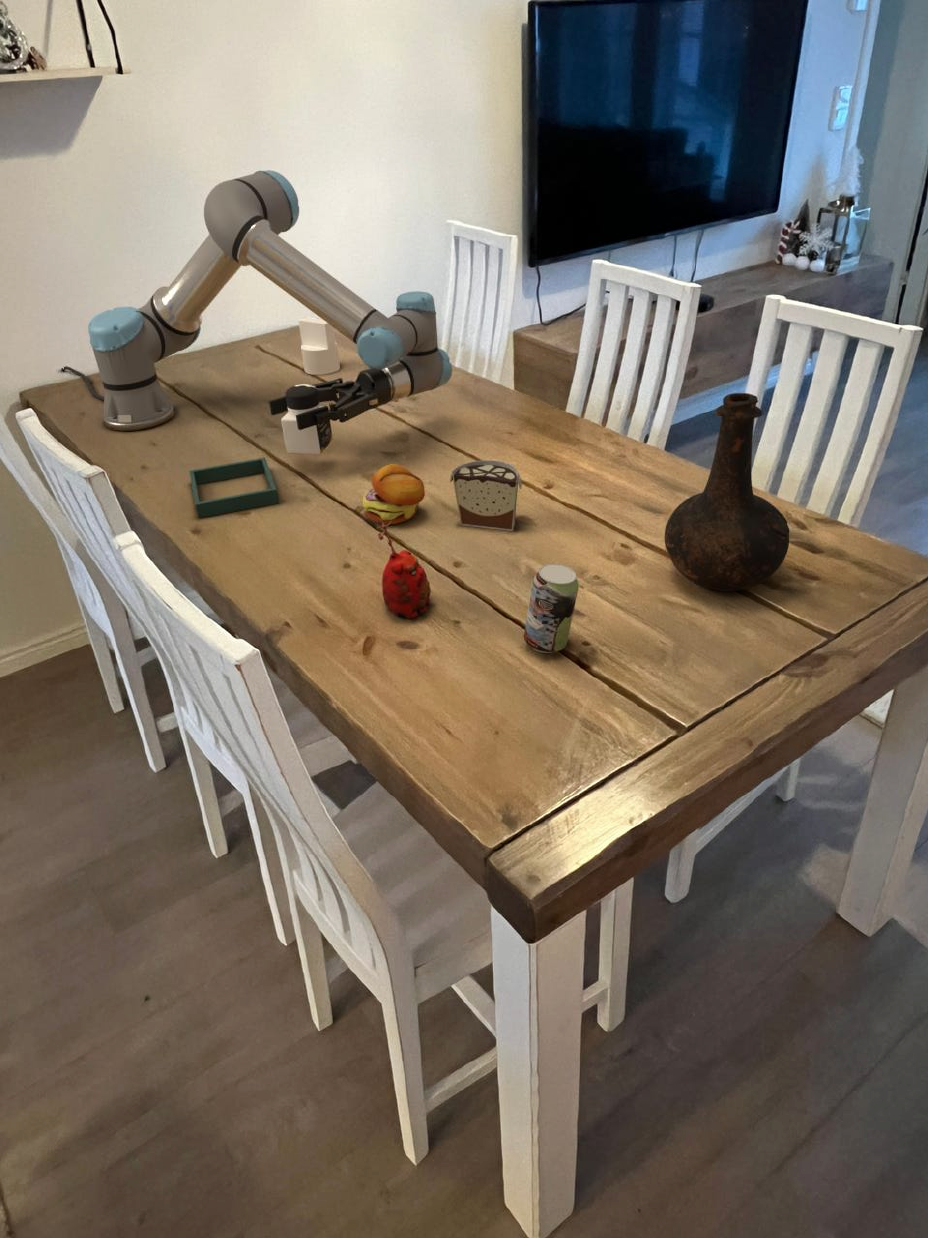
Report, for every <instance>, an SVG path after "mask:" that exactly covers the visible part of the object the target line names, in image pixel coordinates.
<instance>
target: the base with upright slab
mask: <svg viewBox="0 0 928 1238" xmlns="http://www.w3.org/2000/svg"><path fill="white" fill-rule="evenodd" d="M298 327H299V333H300V340H301V346H300V351H301V357H302V358H301V359H302V363H303V370H304V372H305V373H306V374H308V375H313V376H314V375H315V376H320V375H321V376H322V375H329V374H333V373H336V372H338V371H339V370H340V369H341V363H340V357H339V356H340V355H339V348H338V343H337V341H336V337H335V328H334V327H332V326H331V325H330V324H328V323H327V322H326V321H324V320H323V319H322V318H314V317H307V316H306V317H302V318H300V319H298Z"/></svg>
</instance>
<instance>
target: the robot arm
mask: <svg viewBox="0 0 928 1238" xmlns="http://www.w3.org/2000/svg"><path fill="white" fill-rule="evenodd" d="M299 216H300V206H299V198H298V194H297V192H296V190H295V188H294V186H293V185H292V184H291V182H290V181H289V180H288V179H287V177H285V176H284V175H283V174H282V173H280V172H278V171H275V170H268V169H267V170H257V171H255V172H253V173H251V174H247V175H244V176H240V177H237V178H233V179H228V180H223V181H222V182H219V183H217V184H216V185H215V186H214V187H213V188H212V189H211V190H210V191H209V193H208V195H207V196H206V198H205V201H204V205H203V219H204V224H205V227H206V230H207V232H208V235H207V236H206V238H204V240H203V242H202V243H201V244H200V245H199V247H198V248H197V250H195V252H194V253H193V254H192V256H191V257H190V259H189V260H188V261H187V262H186V264H185V265H184V266H183V268H182V269H181V270H180V272H179V273H178V274H177V275H176V277H175V278H174V279H173V280H172V282H171V283H170V285H168V286H161V287H159V288H157V289H156V290H155V291H154V292H153V295H151V297H150V298H149V300H148V301H147V302H146V303H145V304H143V306H141V307H139V308H136V307H133V306H120V307H119V306H118V307H115V308H113V309H107V310H105V311H102V312H100V313H98V314H95V316H93V317H92V318H91V319H90V321H89V323H88V325H87V331H88V335H89V344H90V347H91V348H92V351H93V355H94V358H95V362H96V365H97V368H98V371H99V375H100V379H101V383H102V385H103V390H104V396H102V395H100V394H98V393H97V391H95V389H94V388H93V387H92V385H91V380H90V379H89V378H88V377H87V376H86V375H85V374H84V373H82V372H80V371H78V370H76V369H74V368H73V367H71V366H66V365H65V367H64V366H63V367H64V369H63V368H62V367H61V369H60V372H61V373H63V372H65V370H67V371H69V372H71V373H73V374H75V375H77V376H79V377H81V378H82V379H84V381H85V382H86V385H87V388H88V390H89V392H90V393H91V394H92V395H93V396H94V397H95V398H96V399H98V400H100V401H103V419H104V424H105V426H106V427H107V428H108V429H110V430H114V431H119V432H120V431H121V432H133V431H141V430H145V429H151V428H154V427H158V426H160V425H162V424H164V423H166V422H168V421H169V420H171V419H172V418H173V417H174V415H175V409H174V404H173V403H172V401H171V400H170V397H169V396H168V394H167V393H166V391H165V390H164V388H163V386H162V385H161V383H160V381H159V379H158V375H157V370H156V367H155V363H158V362H159V361H161V360H163V359H166V358H168V357H170V356H172V355H175V354H176V353H178V352H182V351H184V350H187V349H188V348H189V347H191V346H192V345H193V344H194V343H195V342H197V340H198V338H199V337H200V333H201V329H202V327H201V326H202V322H203V315H202V314H203V313H204V312H205V310H206V309H207V308H208V307H209V306H210V304H211V303H212V302H213V301H214V300H215V298H216V297H217V296H218V295H219V294H220V292H221V291H222V290H223V289H224V288H225V286H226V285H227V284H228V283H229V282H230V280H231V279H232V278H233V277H234V276H235V274H236V273H237V272H238V271H239V270H240V268H242V267H249V266H251V267H252V268H253V269H254V270H256V271H257V272H258V273H260V274H261V275H263V276H264V277H265V278H267V279H268V281H271V282H272V283H273V284H274V285H276V286H277V287H279V288H280V289H281V290H283V291H284V292H285V293H287V295H289V296H291V298H293V299H295V300H296V301H297V302H298V303H300V304H301V305H302V306H304V307H306V308H307V309H308V310H309V311H310V312H312V313H313V314H315V315H316V316H317V317H319V319H322V320H324V321H326V322H327V323H328V324H330V325H331V326H332V327H333V328H334V330H336V331H338V332H339V333H340V334H342V335H343V336H344V337H346V338H347V340H349V341H351V342H352V343H354V345H356V349H357V354H358V357H360V359H361V362H362V363H363V364H364V365H365V366H367V368H366V369H362V370H360V372H359V373H357V377H356V379H355V381H354V380H347V381H345V382H344V379H343V378H341V377H338V378H335V379H334V380H329V381H324V382H318V383H313V384H311V385H312V386H315V387H316V388H317V391H318V397H319V403H325V402H330V403H328V406H327V405H324V407H320V408H317V409H314V410H311V411H308V412H304V413H301V414H298V415H296V421H297V426H298V429H299V430H302V429H305V428H309V427H312V426H315V425H318V424H321V423H324V422H327V421H330V422H331V421H333V422H336V421H339V423H346V422H348V421H349V420H352V419H354V418H356V417H357V416H360V415H361V414H362V415H363V414H364V413H365V412H367V411H369V410H373V409H377V408H380V407H381V406H384V405H388V403H393V402H394V403H399V400H402V399H406V398H409V397H411V396H414V395H418V394H421V393H424V392H428V391H429V392H430V391H433V390H436V389H437V388H440V387H442V386H444V385H446V384H448V383H449V381H450V380H451V379H452V375H453V365H452V363H451V362H450V359H451V358H450V356H449V355H448V353H447V352H446V351H445V350H444V349H441V348H439V346H438V345H439V343H438V327H437V326H438V325H437V311H436V305H435V299H434V296H433V295H432V294H431V293H429V292H427V291H421V290H420V291H419V290H418V291H417V290H416V291H408V292H403V293H401V294H399V295H398V296H397V297H396V305H395V306H396V307H395V310H396V313H395V314H393V315H390V316H389V317H387V316H386V315H385V314H384V313H382V312H381V311H380V310H378V309H376V308H375V307H374V306H372V305H371V304H370V303H369V302H368V301H366V300H364V298H362V297H361V296H359V295H358V294H356V293H355V292H354V291H352V290H351V289H350V288H349V287H347V286H346V285H345V284H344V283H342V282H341V281H339V280H338V279H337V278H335V277H334V276H333V275H331V274H330V273H329V272H327V271H326V270H325V269H323V268H322V267H321V266H320V265H318V264H317V263H315V261H313V260H311V258H309V257H307V256H306V255H305V254H304V253H302V252H301V251H300V250H298V249H297V248H296V247H295V246H293V245H292V244H290V243H289V242H288V241H286V240H285V239H284V238H282V237H281V236H280V234H281V233H286V232H288V231H290V230H291V229H292V228H293V227H294V226H295V225H296V224H297V222H298V219H299ZM331 402H332V403H331ZM268 406H269V411H270V415H271V416H276V415H279V414H282V413H285V412H286V413H287V412H289V411H288V407H287V401H286V395H284V396H281V397H278V398H274V399H271V400H268Z"/></svg>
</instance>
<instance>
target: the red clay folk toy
mask: <svg viewBox="0 0 928 1238" xmlns="http://www.w3.org/2000/svg"><path fill="white" fill-rule="evenodd" d="M378 521H380V522H381V523H380V524H381V527H380V526H379V527H378V526H377V527H376V530H381V529H382V530H383V531H382V532H378V534H377V537H378V540H380V541H383V539H384V535H386V537H387V544H388V546H389V547H390V549H391V554H390V555H389V558H388V561H387V562H386V564H385V567H384V569H383V571H382V577H381V587H382V597H383V602H384V605H385V606H386V607H387V609H388V610H389V611H390V612H391V613H392V614H393V615H394V616H396V617H398V618H403V617H404V618H405V619H409V620H410V619H415V618H416V617H418V616H419V615H422V614H423V613H426V612H427V606H429V605H430V603H431V599H430V596H431V592H432V591H431V587H430V586H431V585H430V584H431V583H430V581H429V579H428V576H427V574H426V571H425V569H424V567H423V566H422V565H421V564H420V562H419V559H418V557H417V556H416V555H413V554H412V552H411V551H409V550H406V549H403V550H402V551H400V552H399V553H398V552H396V550H395V548H394V546H393V542H394V539H391V538H390V535H389V532H388V530H387V529H388V527H389V526H390V525H392V524H391V523H392V522H390V523H389V524H383V522H382V521H381V520H380V519H378Z"/></svg>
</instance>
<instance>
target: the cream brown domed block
mask: <svg viewBox="0 0 928 1238" xmlns="http://www.w3.org/2000/svg"><path fill="white" fill-rule="evenodd" d="M449 483H453V488H454V493H455V498H456V500H455V501H456V506H457V511H458V516H459V523H460V526H465V527H472V528H473V527H474V528H480V529H482V528H483V529H489V530H490V529H491V530H497V531H498V530H499V531H507V532H514V529H515V525H516V512H517V502H518V491H519V490H521V489H522V487H523V483H522V478H521V475H520V472H519V470H518V469H517V468H516V467H515V466H514V465H512V464H511V463H508V462H504V461H501V460H492V459H490V460H488V459H485V460H484V459H483V460H475V461H469V462H466V463H463V464H460V465H459V466H457V467H455V468H454V469H453V470H452V471H451V474H450V479H449ZM518 489H519V490H518Z"/></svg>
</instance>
